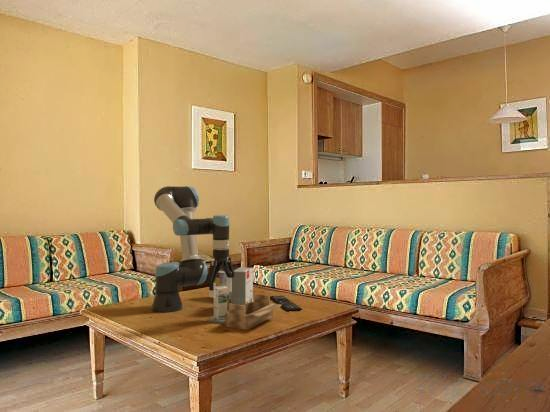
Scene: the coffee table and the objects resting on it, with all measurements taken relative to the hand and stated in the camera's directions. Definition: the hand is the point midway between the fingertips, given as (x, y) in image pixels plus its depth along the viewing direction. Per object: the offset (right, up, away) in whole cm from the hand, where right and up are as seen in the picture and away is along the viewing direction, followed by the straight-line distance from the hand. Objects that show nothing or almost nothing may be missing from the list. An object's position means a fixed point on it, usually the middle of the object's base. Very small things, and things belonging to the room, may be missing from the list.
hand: (220, 294), depth 204 cm
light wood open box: (+16, -12, -4) cm, 20 cm away
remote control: (+30, -12, +31) cm, 45 cm away
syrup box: (0, -11, 0) cm, 11 cm away
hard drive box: (+8, -12, +23) cm, 27 cm away
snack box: (+1, -12, +43) cm, 45 cm away
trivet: (0, -12, 0) cm, 12 cm away
